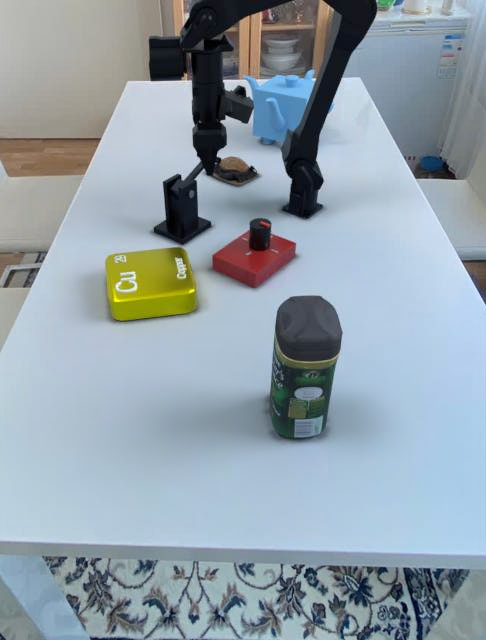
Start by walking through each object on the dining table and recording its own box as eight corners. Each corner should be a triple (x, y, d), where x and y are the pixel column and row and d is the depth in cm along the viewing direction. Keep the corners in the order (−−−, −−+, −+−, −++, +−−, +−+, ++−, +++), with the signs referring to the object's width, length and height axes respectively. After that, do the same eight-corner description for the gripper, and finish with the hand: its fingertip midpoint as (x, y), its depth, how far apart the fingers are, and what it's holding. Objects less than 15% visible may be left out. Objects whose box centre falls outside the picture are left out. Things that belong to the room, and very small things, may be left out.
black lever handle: (201, 156, 114) (198, 146, 112) (222, 163, 112) (220, 153, 110) (167, 195, 112) (163, 186, 110) (188, 203, 109) (184, 194, 107)
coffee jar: (265, 392, 84) (273, 288, 70) (318, 391, 84) (336, 286, 70) (271, 443, 77) (281, 339, 64) (329, 441, 77) (351, 337, 64)
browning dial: (244, 246, 106) (245, 222, 102) (257, 237, 108) (258, 214, 104) (261, 253, 104) (263, 229, 100) (274, 244, 106) (276, 220, 102)
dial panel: (253, 240, 113) (253, 225, 110) (295, 256, 108) (296, 242, 106) (212, 269, 106) (212, 254, 104) (255, 288, 102) (255, 273, 99)
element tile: (198, 312, 97) (197, 289, 94) (112, 323, 96) (107, 300, 92) (186, 265, 107) (185, 242, 104) (108, 274, 106) (103, 251, 102)
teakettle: (333, 150, 141) (342, 85, 130) (261, 158, 138) (264, 93, 127) (307, 122, 153) (313, 60, 142) (240, 129, 150) (242, 67, 140)
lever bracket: (182, 215, 120) (179, 167, 113) (211, 226, 117) (210, 178, 109) (153, 232, 116) (148, 183, 108) (183, 245, 112) (179, 195, 105)
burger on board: (204, 174, 133) (203, 158, 131) (228, 162, 137) (228, 147, 134) (237, 188, 128) (237, 172, 125) (261, 175, 132) (262, 159, 129)
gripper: (256, 95, 95) (253, 185, 107) (247, 61, 108) (245, 144, 120) (190, 98, 95) (194, 187, 107) (190, 63, 108) (193, 146, 120)
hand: (209, 164), depth 113 cm, fingers open, 9 cm apart
